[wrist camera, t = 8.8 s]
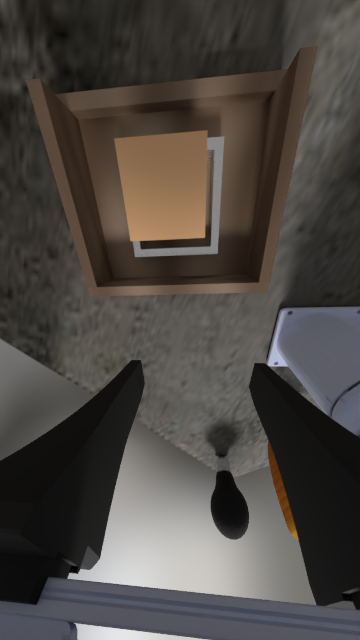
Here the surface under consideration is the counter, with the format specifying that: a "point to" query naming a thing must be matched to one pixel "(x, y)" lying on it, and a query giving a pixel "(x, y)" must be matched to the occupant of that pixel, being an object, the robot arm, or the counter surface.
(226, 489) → the light bulb
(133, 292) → the walnut box
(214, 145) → the frame
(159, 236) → the two-tone rectangular block
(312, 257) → the counter surface
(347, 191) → the counter surface
